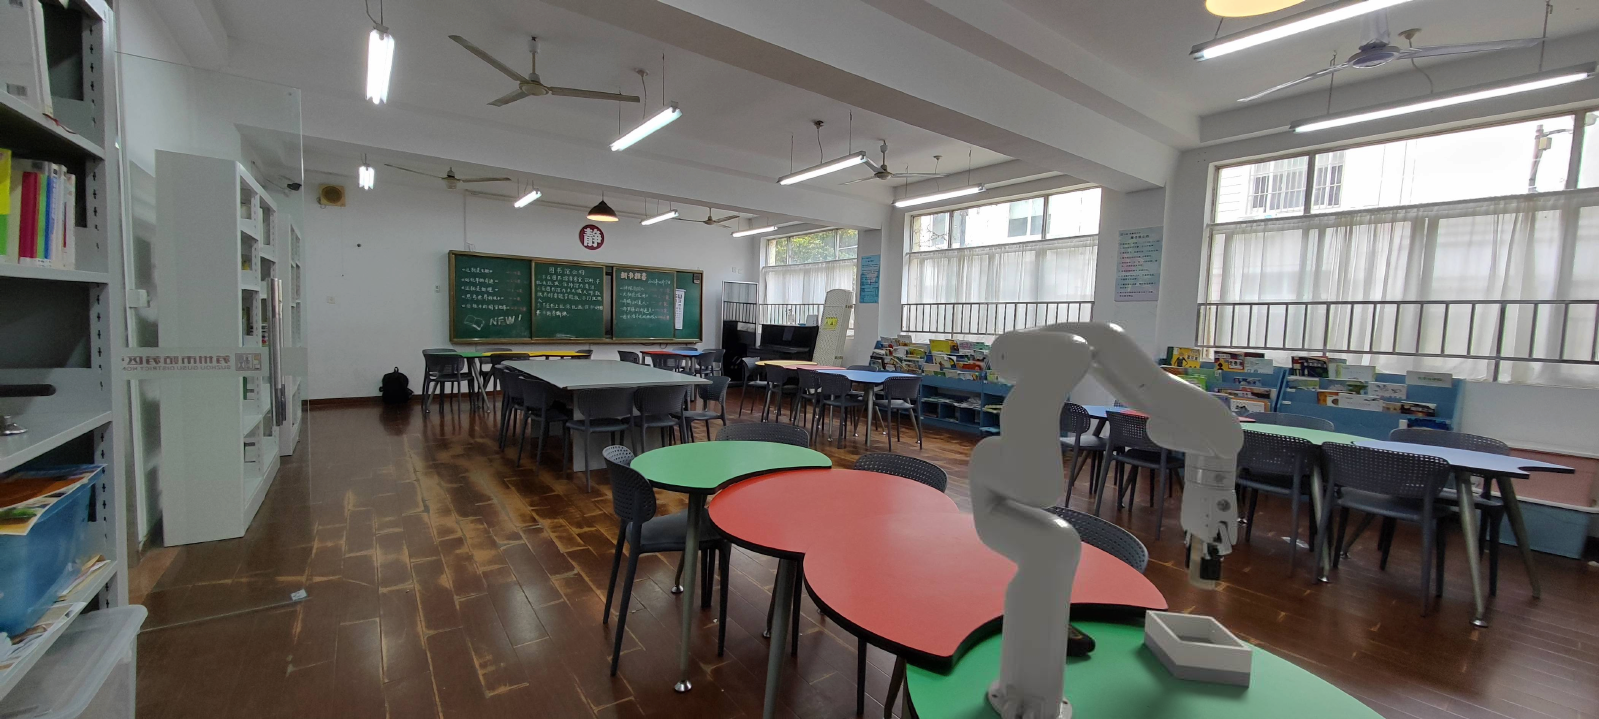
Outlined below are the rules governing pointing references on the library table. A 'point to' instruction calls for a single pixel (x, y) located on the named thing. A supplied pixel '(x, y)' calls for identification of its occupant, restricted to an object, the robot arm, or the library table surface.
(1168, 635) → the bore box
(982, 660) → the library table surface
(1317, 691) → the library table surface
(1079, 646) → the tape measure
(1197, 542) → the peg
